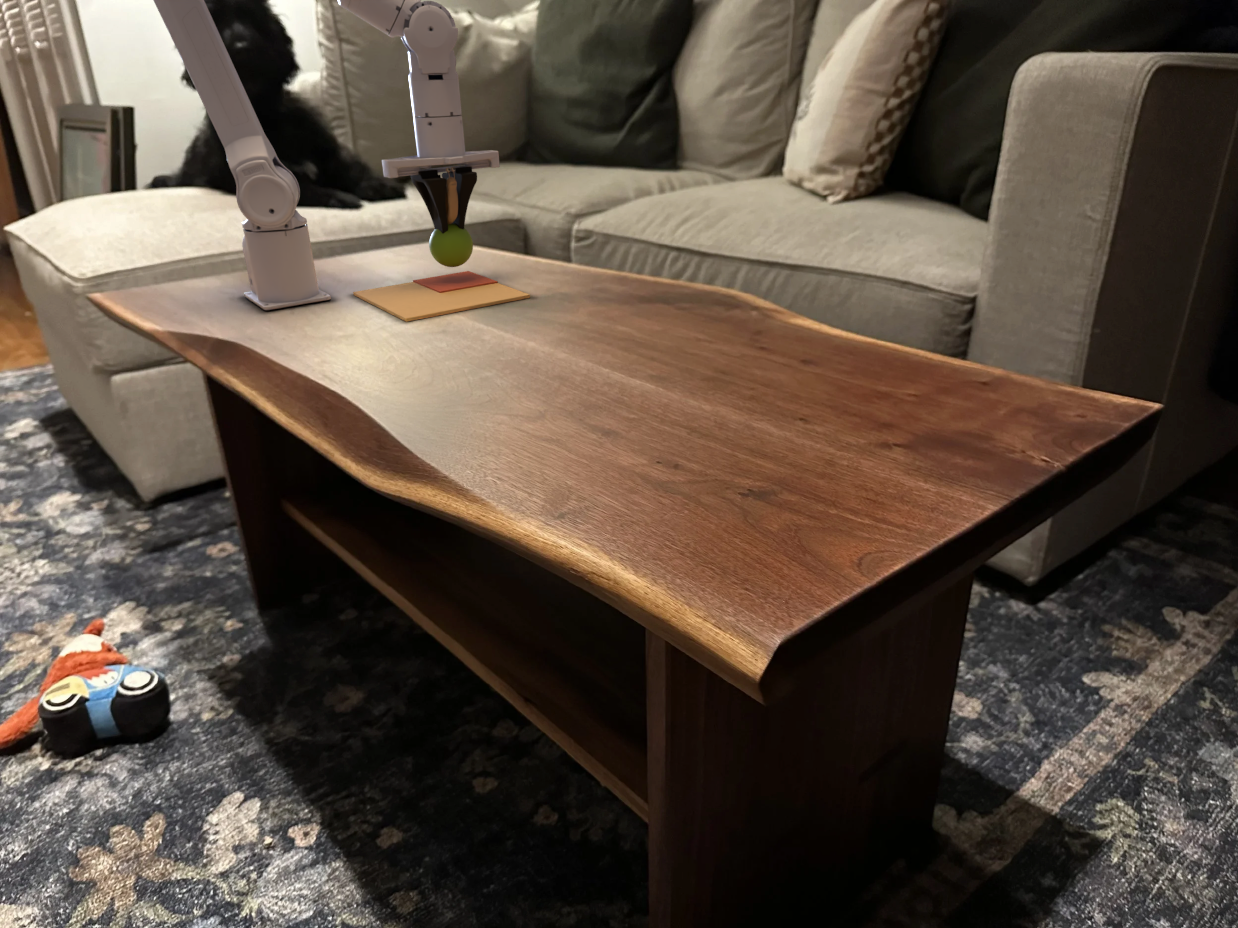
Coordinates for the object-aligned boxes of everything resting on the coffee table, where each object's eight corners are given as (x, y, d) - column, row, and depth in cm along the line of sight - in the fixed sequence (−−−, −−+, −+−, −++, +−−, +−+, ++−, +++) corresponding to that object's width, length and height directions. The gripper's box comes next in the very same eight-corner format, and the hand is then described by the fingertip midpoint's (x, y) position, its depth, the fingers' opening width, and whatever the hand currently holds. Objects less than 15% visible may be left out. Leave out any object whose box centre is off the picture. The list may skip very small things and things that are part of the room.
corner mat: (353, 295, 108) (352, 290, 108) (468, 275, 117) (468, 271, 116) (406, 322, 97) (405, 316, 96) (530, 297, 105) (530, 292, 105)
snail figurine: (449, 272, 107) (430, 170, 102) (426, 269, 111) (407, 171, 107) (487, 264, 109) (471, 164, 105) (463, 261, 114) (447, 165, 110)
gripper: (393, 121, 96) (408, 245, 102) (507, 113, 104) (516, 229, 110) (369, 118, 102) (385, 237, 107) (480, 112, 109) (489, 222, 115)
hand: (449, 233), depth 109 cm, fingers closed on snail figurine
